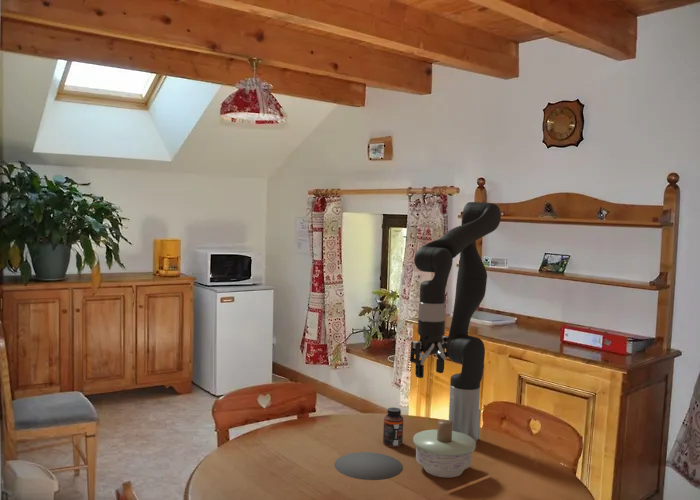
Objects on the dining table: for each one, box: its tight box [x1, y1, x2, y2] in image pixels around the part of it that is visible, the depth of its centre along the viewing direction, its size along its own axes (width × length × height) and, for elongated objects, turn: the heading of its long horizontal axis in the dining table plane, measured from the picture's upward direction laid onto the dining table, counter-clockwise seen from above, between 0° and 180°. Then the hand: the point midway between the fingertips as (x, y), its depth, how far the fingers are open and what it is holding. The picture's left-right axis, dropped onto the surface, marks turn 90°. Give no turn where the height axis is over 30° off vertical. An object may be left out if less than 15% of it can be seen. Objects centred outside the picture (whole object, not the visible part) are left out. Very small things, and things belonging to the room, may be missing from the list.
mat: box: [334, 451, 404, 481], centre depth 172 cm, size 19×19×1 cm
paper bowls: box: [415, 446, 473, 478], centre depth 171 cm, size 15×15×8 cm
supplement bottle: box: [382, 407, 404, 448], centre depth 189 cm, size 6×6×11 cm
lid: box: [412, 419, 477, 456], centre depth 171 cm, size 17×17×6 cm
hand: (429, 375), depth 176 cm, fingers open, 8 cm apart
